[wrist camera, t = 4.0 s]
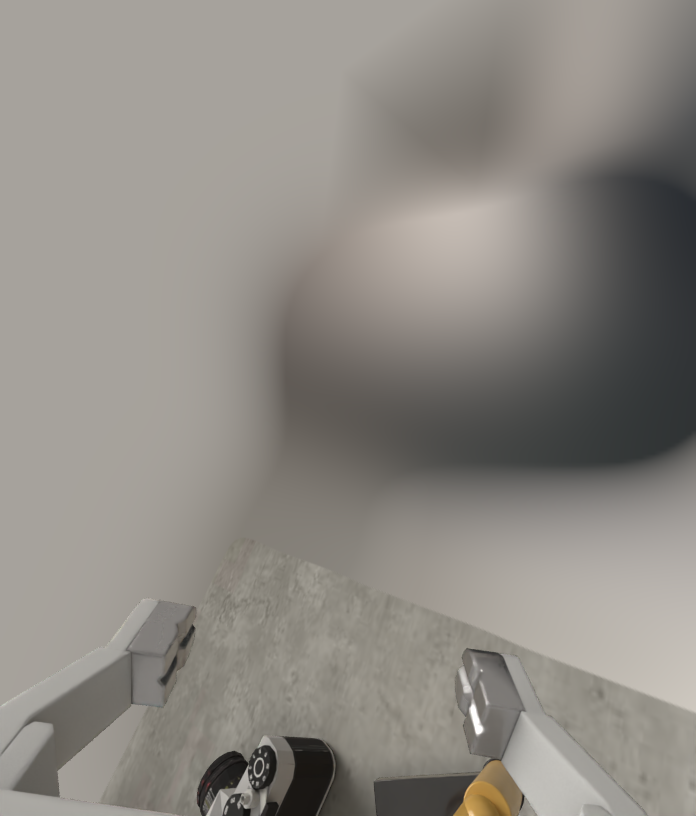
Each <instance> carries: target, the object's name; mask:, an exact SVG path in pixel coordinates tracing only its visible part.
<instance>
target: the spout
mask: <svg viewBox="0 0 696 816" xmlns="http://www.w3.org/2000/svg"><path fill="white" fill-rule="evenodd" d="M501 761H502V760H501V759H495V758H491V759H489V760H488V761H487V762H486V763H485V765H484V767H483V769H482V771H481V772H480V774H479V775H478V776H477V777H476V778H475V780H474V781H473V782H472V783H471V784H470V786H469V787H468V788H467V790H466V792H465V795H464V800H463V803H462V804H461V805H460V807H459V808H458V810H457V811H456V812H455V814H454V815H453V816H518V814H519V811H520V810H521V808H522V806H523V802H524V797H525V796H524V795H523V793H522V792H521V790H520V789H519V787H518V786H517V784H516V783H515V781H514V780H513V778H512V777H511V775H510V774H509V772H508V771H507V770H506V768H505V767H504V765H503V764H502V762H501Z"/></svg>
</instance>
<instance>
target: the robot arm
mask: <svg viewBox="0 0 696 816" xmlns="http://www.w3.org/2000/svg"><path fill="white" fill-rule="evenodd" d="M195 618H196V607H194V606H188V605H183V604H177V603H172V602H166V601H160V600H154V599H149V598H144V599H143V600H142V601H141V602H139V604H138V605H137V606H136V608H135V609H134V610H133V612H132V613H131V614H130V616H129V617H128V618H127V620H126V621H125V622H124V623H123V625H122V626H121V627H120V629H119V630H118V631H117V633H116V634H115V635H114V637H113V638H112V639H111V641H110V642H109V643H108V645H107V646H106V647H99V648H97V649H96V650H94V651H93V652H90V653H89V654H87V655H85V656H84V657H82V658H81V659H79V660H77V661H75V662H74V663H72V664H70V665H69V666H67V667H65V668H64V669H62V670H60V671H58V672H57V673H55V674H53V675H52V676H50V677H48V678H47V679H45V680H43V681H42V682H40V683H38V684H37V685H35V686H33V687H31V688H30V689H28V690H27V691H25V692H23V693H21V694H20V695H18V696H16V697H15V698H13V699H11V700H10V701H8V702H6V703H5V704H3V705H1V706H0V816H182V815H176V814H169V813H162V812H155V811H148V810H142V809H135V808H128V807H121V806H114V805H107V804H101V803H94V802H87V801H80V800H73V799H66V798H60V796H59V783H58V773H57V771H58V770H59V769H60V768H61V767H62V766H64V765H65V764H66V763H67V762H68V761H69V760H70V759H72V758H73V757H74V756H75V755H76V754H77V753H78V752H80V751H81V750H82V749H83V748H84V747H85V746H86V745H88V744H89V743H90V742H91V741H92V740H93V739H94V738H95V737H97V736H98V735H99V734H100V733H101V732H102V731H103V730H105V729H106V728H107V727H108V726H109V725H110V724H111V723H113V722H114V721H115V720H116V719H117V718H118V717H119V716H120V715H122V714H123V713H124V712H125V711H126V710H127V709H128V708H130V707H131V704H137V705H146V706H154V707H163V708H164V706H165V704H166V702H167V700H168V698H169V696H170V694H171V692H172V690H173V688H174V686H175V684H176V680H177V671H178V670H180V669H181V668H182V667H184V666H185V663H186V661H187V659H188V657H189V655H190V652H191V649H192V646H193V642H194V637H195V627H194V626H193V624H192V623H193V622H194V620H195ZM462 660H463V664H464V665H463V666H462V667H460V668H459V669H458V671H457V675H456V680H455V692H456V699H457V703H458V707H459V709H460V710H461V712H462V713H463V714H464V715H465V717H466V718H465V721H464V724H463V727H464V731H465V735H466V739H467V743H468V747H469V751H470V754H474V755H479V756H484V757H490V758H495V759H501V760H502V761H501V762H502V764H503V765H504V767H505V768H506V770H507V771H508V772H509V774H510V775H511V777H512V778H513V780H514V781H515V783H516V784H517V786H518V787H519V789H520V790H521V792H522V793H523V795H524V796H525V798H526V799H527V801H528V802H529V803H530V805H531V806H532V808H533V809H534V811H535V812H536V814H537V815H538V816H648V815H647V813H646V812H645V810H644V809H643V808H642V807H641V806H640V805H639V804H638V803H637V802H636V801H635V800H634V799H633V798H632V797H631V796H630V795H629V794H628V793H627V792H626V791H625V790H624V789H623V788H622V787H621V786H620V785H619V784H618V783H617V782H616V781H615V780H614V779H613V778H612V777H611V776H610V775H609V774H608V773H607V772H606V771H605V770H604V769H603V768H602V767H601V766H600V765H599V764H598V763H597V762H596V761H595V760H594V759H593V758H592V757H591V756H590V755H589V754H588V753H587V752H586V751H585V750H584V749H583V748H582V747H581V746H580V745H579V744H578V743H577V741H576V740H575V739H574V738H573V737H572V736H571V735H570V734H569V733H568V732H567V731H566V730H565V729H564V728H563V727H562V726H561V725H560V724H559V723H558V722H557V721H556V720H555V719H554V718H553V717H552V716H549V715H546V714H545V712H544V710H543V707H542V705H541V703H540V701H539V699H538V697H537V695H536V693H535V690H534V688H533V686H532V684H531V682H530V680H529V678H528V676H527V673H526V671H525V669H524V667H523V665H522V663H521V661H520V659H519V658H518V657H517V656H515V655H508V654H501V653H496V652H489V651H482V650H475V649H468V648H467V649H466V650H465V651H464V652H463V655H462Z"/></svg>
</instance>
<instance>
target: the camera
mask: <svg viewBox="0 0 696 816" xmlns="http://www.w3.org/2000/svg"><path fill="white" fill-rule="evenodd" d="M335 766H336V763H335V759H334V755H333V751H332V750H331V749H330V748H329V746H328V745H327V744H326V743H325V741H324V740H322V739H315V738H300V737H284V736H269V735H264V736H263V738H262V739H261V741H260V743H259V745H258V747H257V749H255V751H254V752H253V754H252V756H251V759H250V761H249V764H248V762H246V761H245V759H244V757H243V756H242V754H241V753H238V752H235V751H232V752H227V753H225V754H224V755H222V756H220V757H219V758H218V759H216V760H215V761H214V762H213V763H212V764H211V765H210V767H209V768H208V769H207V771H206V772H205V774H204V776H203V777H202V779H201V782H200V785H199V787H198V792H197V804H198V806H199V807H200V812H201V814H202V816H318V814H319V812H320V809H321V807H322V805H323V802H324V800H325V798H326V796H327V793H328V791H329V789H330V786H331V784H332V782H333V779H334V775H335Z"/></svg>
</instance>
